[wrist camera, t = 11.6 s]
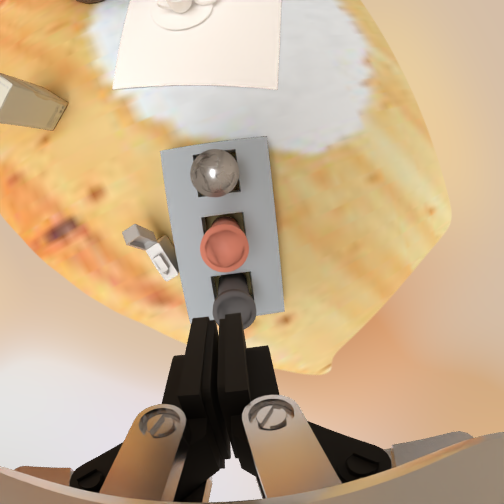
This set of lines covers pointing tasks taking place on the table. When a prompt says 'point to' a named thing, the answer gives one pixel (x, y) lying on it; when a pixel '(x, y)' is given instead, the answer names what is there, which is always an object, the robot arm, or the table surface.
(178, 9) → the teacup and saucer
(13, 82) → the skincare box
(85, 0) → the plant pot
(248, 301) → the plug black
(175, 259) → the grey white bent piece
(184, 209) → the socket board
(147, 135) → the table surface
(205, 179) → the plug grey
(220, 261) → the plug red
